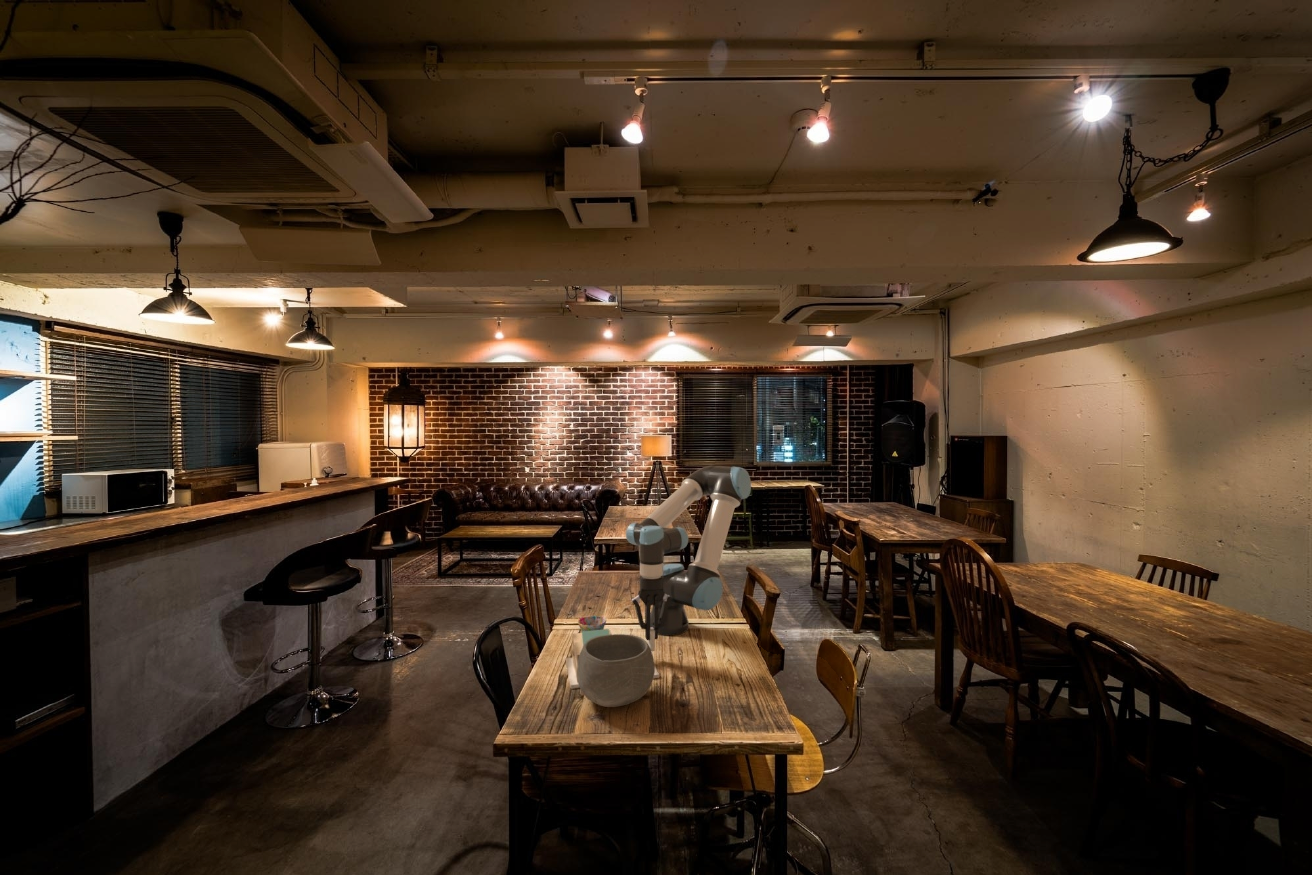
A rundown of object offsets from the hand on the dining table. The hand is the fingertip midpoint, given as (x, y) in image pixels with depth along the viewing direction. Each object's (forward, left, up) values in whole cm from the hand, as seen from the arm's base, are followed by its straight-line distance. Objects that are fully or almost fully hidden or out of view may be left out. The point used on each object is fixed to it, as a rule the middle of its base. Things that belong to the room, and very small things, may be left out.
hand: (651, 649), depth 165 cm
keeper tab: (+18, +7, +7) cm, 21 cm away
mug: (+17, -12, -4) cm, 21 cm away
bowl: (+15, +21, -4) cm, 26 cm away
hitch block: (+13, +3, -4) cm, 14 cm away
